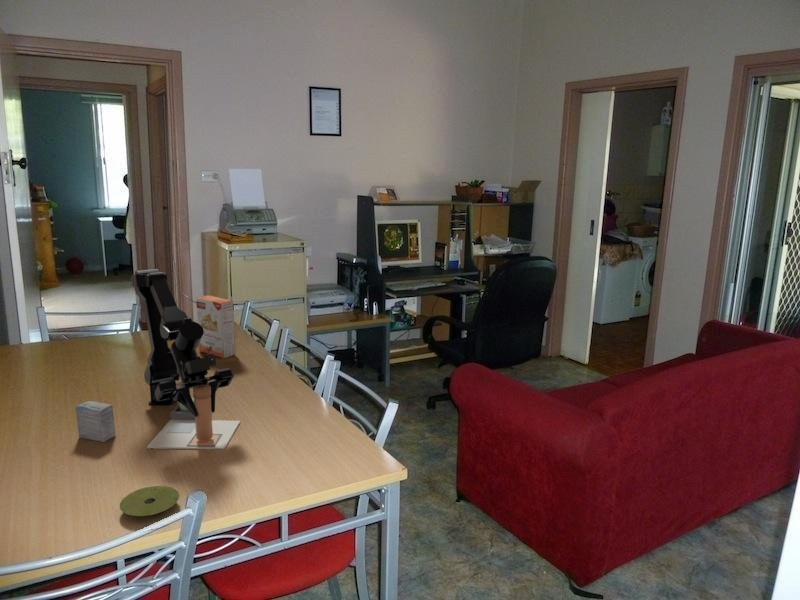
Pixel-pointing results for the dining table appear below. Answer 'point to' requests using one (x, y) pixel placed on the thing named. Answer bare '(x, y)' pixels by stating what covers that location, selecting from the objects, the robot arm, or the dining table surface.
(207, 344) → the cracker box
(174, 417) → the button housing
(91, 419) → the medicine box
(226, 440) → the colouring sheet
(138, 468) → the dining table surface
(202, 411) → the brown tall rounded cylinder
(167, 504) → the green disc
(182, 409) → the button
